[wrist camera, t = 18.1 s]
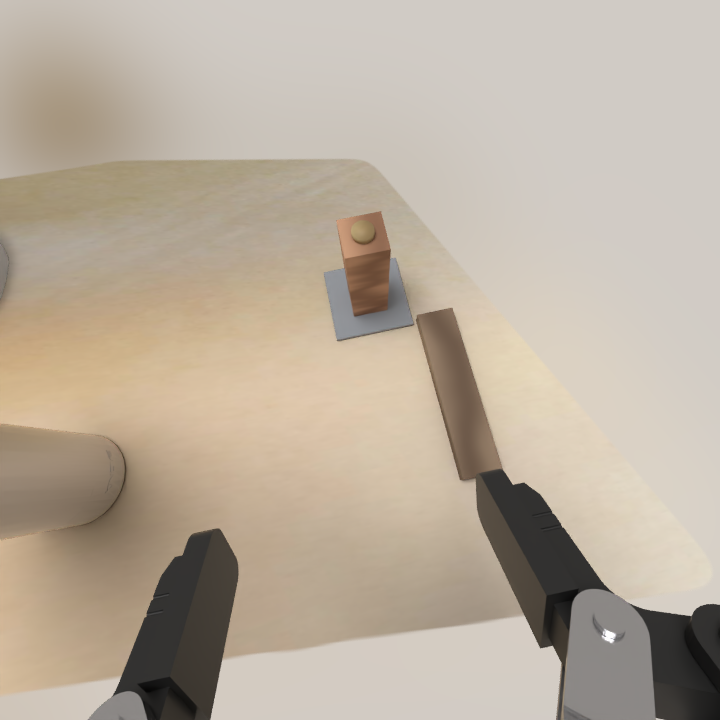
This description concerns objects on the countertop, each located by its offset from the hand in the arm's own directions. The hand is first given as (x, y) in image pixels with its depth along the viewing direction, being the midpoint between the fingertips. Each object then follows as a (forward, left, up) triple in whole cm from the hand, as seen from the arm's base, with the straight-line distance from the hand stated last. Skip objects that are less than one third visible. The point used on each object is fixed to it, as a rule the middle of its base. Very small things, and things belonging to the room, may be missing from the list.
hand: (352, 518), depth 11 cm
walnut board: (+11, +8, -27) cm, 30 cm away
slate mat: (+4, +21, -27) cm, 34 cm away
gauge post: (+4, +21, -26) cm, 34 cm away
